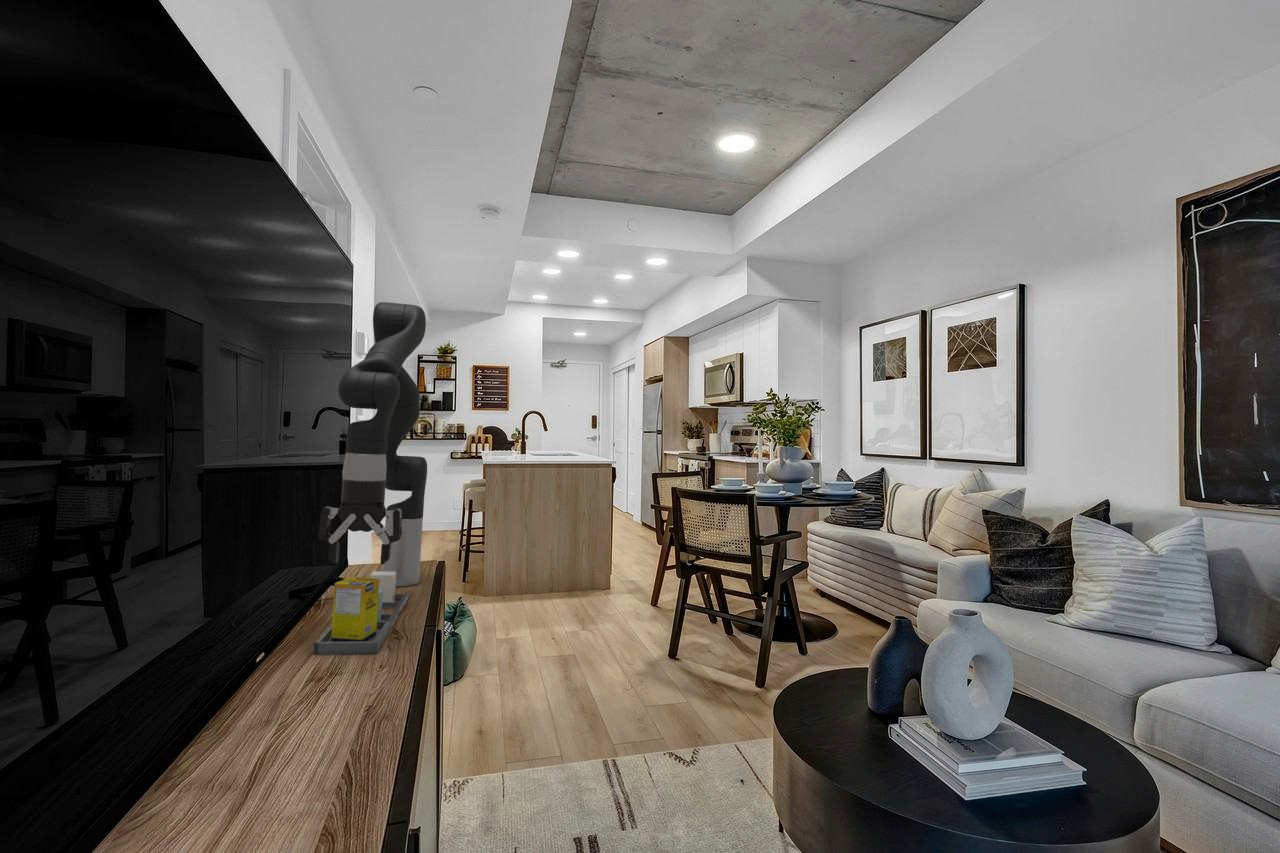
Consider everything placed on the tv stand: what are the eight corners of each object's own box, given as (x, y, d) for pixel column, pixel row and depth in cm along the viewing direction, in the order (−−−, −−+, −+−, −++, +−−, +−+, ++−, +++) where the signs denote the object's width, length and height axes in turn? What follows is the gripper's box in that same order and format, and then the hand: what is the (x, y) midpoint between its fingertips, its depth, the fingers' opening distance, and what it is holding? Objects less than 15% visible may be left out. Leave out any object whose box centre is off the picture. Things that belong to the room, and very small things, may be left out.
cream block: (371, 601, 148) (373, 571, 148) (394, 601, 149) (396, 571, 149) (368, 606, 144) (370, 575, 144) (391, 606, 145) (393, 575, 145)
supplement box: (376, 634, 123) (380, 577, 123) (361, 644, 117) (365, 584, 117) (346, 632, 123) (350, 575, 123) (330, 642, 117) (334, 582, 117)
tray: (333, 631, 125) (334, 621, 125) (389, 630, 127) (390, 620, 127) (313, 654, 112) (314, 643, 112) (376, 653, 114) (377, 642, 114)
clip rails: (360, 599, 149) (361, 592, 150) (408, 599, 152) (408, 592, 152) (332, 631, 125) (333, 623, 125) (389, 631, 127) (390, 623, 127)
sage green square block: (355, 623, 131) (357, 588, 132) (380, 622, 132) (382, 589, 133) (350, 628, 128) (352, 593, 128) (376, 628, 129) (379, 593, 129)
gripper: (407, 477, 125) (402, 559, 125) (329, 474, 122) (324, 558, 122) (401, 480, 118) (395, 568, 118) (318, 477, 115) (312, 567, 115)
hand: (359, 563), depth 120 cm, fingers open, 8 cm apart
